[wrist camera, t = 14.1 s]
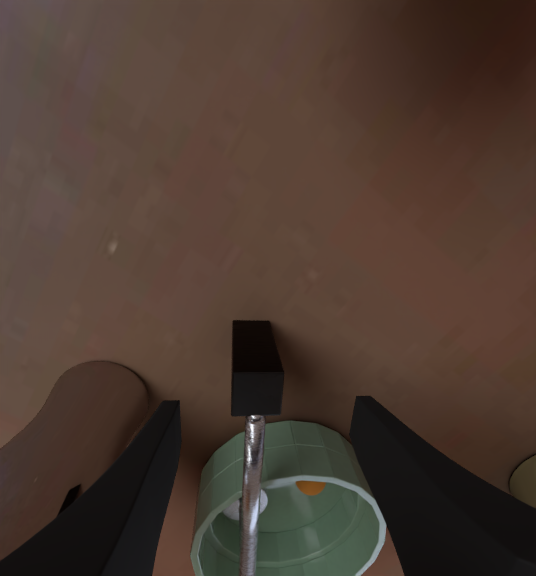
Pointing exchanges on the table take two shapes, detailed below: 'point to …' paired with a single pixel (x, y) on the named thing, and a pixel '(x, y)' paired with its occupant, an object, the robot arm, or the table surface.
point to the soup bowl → (290, 507)
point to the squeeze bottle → (525, 482)
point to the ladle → (253, 424)
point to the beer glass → (67, 446)
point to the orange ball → (310, 487)
